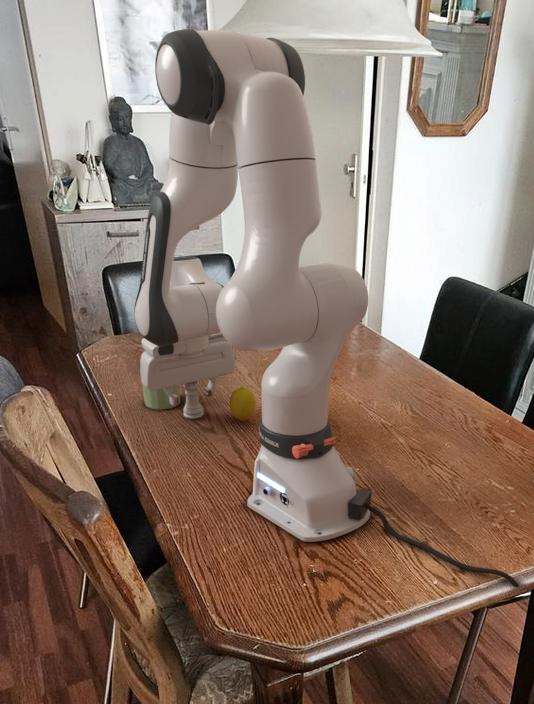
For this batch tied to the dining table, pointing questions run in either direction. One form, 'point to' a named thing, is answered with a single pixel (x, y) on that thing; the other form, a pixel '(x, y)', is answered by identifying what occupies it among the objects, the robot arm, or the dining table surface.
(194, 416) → the rook chess piece
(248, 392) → the lemon
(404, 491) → the dining table surface
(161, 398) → the cup
